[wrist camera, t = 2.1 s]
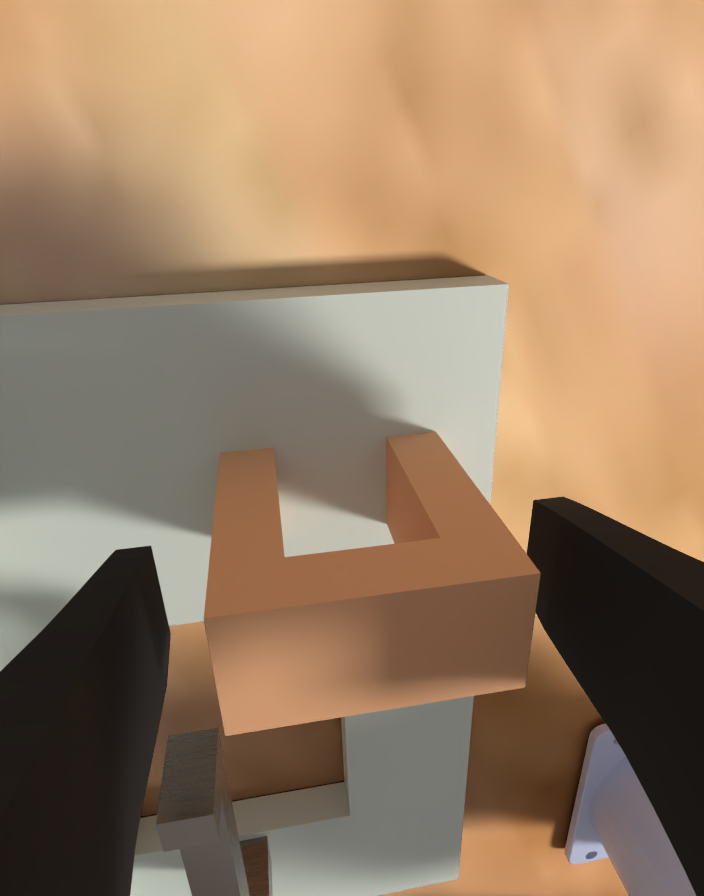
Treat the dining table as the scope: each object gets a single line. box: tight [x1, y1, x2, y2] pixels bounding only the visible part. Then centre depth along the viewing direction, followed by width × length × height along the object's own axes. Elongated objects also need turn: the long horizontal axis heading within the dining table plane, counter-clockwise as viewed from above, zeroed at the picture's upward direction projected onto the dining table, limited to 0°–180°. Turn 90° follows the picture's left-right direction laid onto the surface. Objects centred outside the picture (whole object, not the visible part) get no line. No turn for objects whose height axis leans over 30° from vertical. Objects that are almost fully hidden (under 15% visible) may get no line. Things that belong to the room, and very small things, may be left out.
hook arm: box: [156, 728, 273, 896], centre depth 15 cm, size 2×11×6 cm, turn 2°
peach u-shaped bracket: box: [204, 432, 541, 736], centre depth 11 cm, size 5×2×5 cm, turn 92°
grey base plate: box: [0, 275, 509, 896], centre depth 16 cm, size 13×22×3 cm, turn 2°
